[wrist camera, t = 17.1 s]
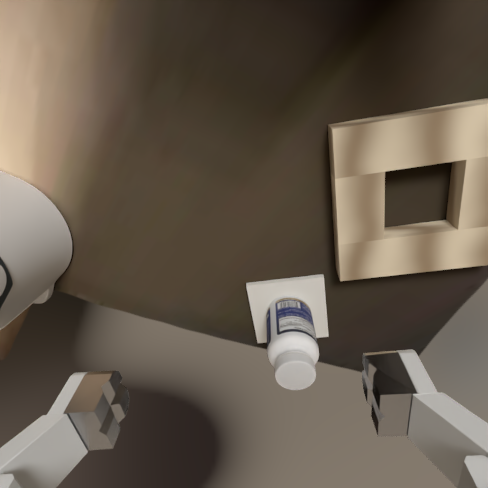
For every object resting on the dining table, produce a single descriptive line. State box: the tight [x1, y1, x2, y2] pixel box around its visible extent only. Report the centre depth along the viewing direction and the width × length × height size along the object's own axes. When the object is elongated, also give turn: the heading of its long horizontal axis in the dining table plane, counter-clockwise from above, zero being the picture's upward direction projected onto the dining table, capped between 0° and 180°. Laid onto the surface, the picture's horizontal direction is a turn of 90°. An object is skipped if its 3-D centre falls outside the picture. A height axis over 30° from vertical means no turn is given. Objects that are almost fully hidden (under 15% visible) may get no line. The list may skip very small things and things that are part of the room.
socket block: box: [328, 98, 488, 281], centre depth 34 cm, size 16×16×2 cm
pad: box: [246, 274, 328, 343], centre depth 42 cm, size 9×9×1 cm
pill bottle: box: [266, 296, 319, 390], centre depth 38 cm, size 5×5×10 cm
